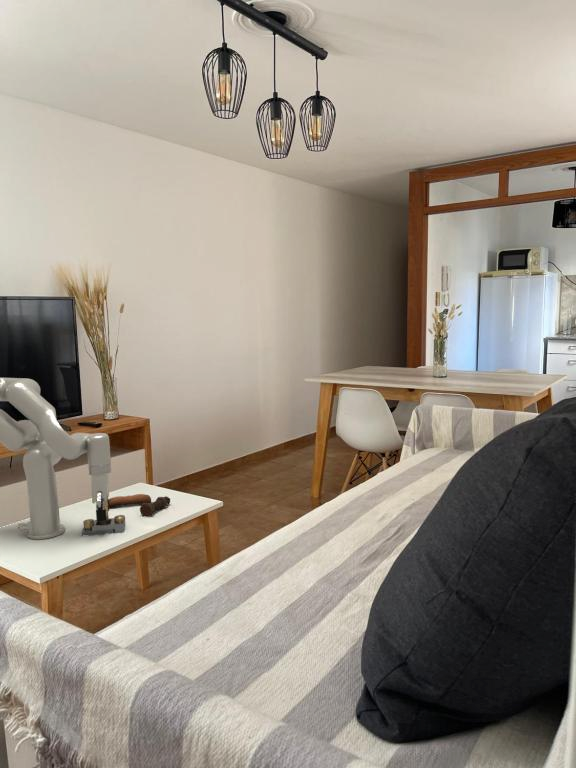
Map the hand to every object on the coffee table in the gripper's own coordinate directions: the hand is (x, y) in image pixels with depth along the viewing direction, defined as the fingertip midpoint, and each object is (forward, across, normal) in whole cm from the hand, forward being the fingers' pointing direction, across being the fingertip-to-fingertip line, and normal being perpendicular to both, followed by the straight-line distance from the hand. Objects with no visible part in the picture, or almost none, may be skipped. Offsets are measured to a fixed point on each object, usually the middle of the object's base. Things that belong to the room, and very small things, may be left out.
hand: (103, 515), depth 207 cm
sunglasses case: (+6, -28, +6) cm, 30 cm away
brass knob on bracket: (+5, 0, 0) cm, 5 cm away
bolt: (+6, -17, +18) cm, 25 cm away
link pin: (+5, 0, 0) cm, 5 cm away
